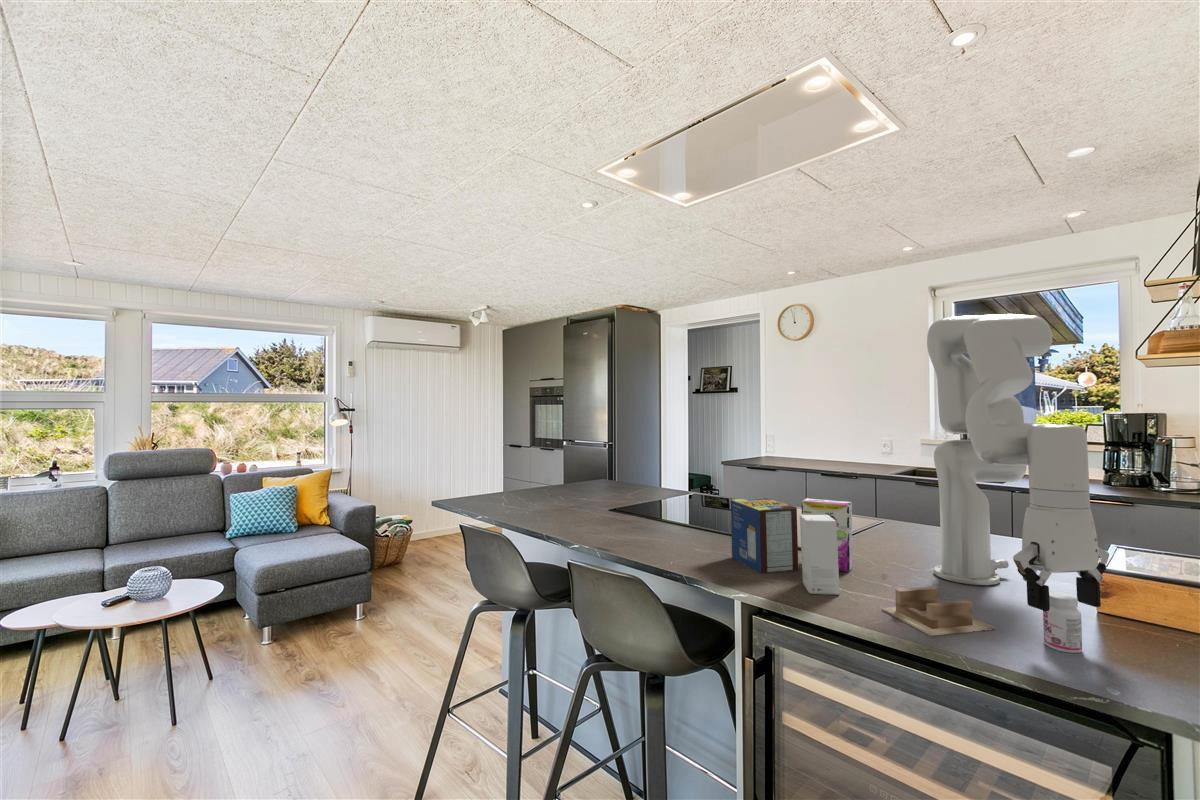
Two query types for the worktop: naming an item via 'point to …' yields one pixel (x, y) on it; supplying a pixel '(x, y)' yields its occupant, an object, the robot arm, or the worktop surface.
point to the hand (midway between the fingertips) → (1063, 606)
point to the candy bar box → (843, 519)
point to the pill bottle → (1063, 623)
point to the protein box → (764, 535)
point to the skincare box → (819, 554)
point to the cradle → (934, 612)
